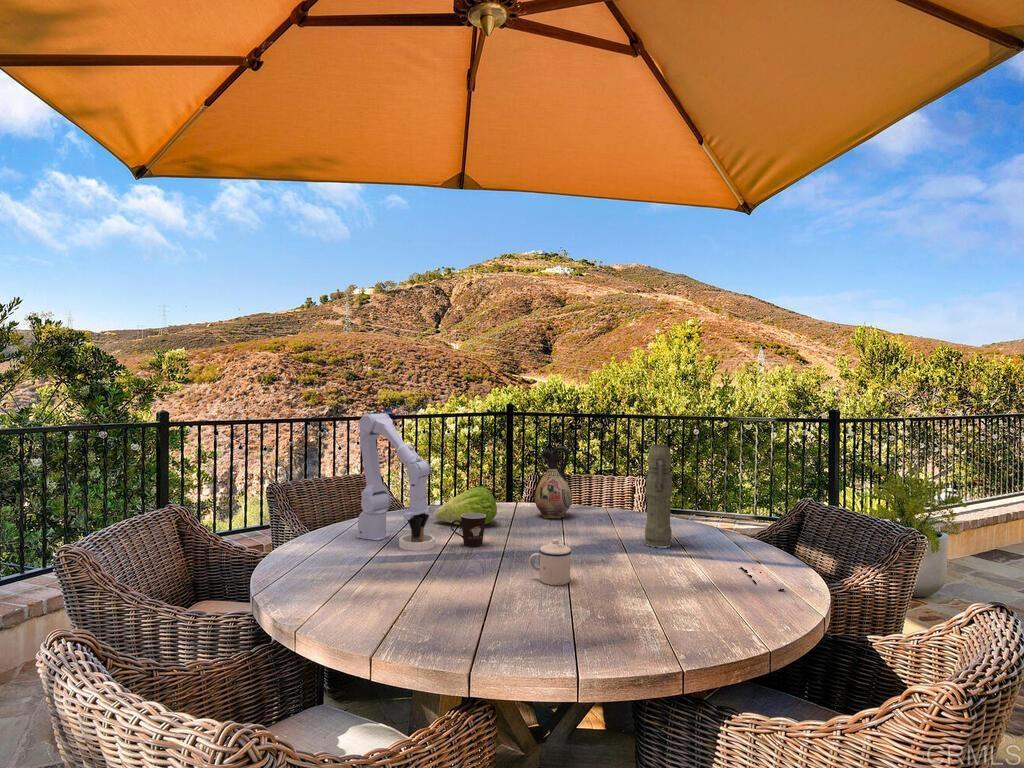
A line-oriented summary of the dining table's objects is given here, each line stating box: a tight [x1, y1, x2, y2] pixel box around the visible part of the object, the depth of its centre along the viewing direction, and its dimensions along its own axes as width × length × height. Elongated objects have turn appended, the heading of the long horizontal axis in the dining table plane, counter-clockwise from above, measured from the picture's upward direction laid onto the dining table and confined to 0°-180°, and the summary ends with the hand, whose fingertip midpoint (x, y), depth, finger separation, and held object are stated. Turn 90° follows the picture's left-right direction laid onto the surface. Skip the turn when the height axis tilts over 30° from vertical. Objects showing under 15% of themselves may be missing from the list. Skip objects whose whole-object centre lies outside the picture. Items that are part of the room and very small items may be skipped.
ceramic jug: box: [534, 445, 573, 519], centre depth 247 cm, size 17×15×30 cm
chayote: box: [434, 486, 498, 526], centre depth 233 cm, size 15×24×16 cm
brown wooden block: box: [410, 526, 425, 542], centre depth 200 cm, size 4×1×6 cm, turn 68°
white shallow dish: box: [398, 533, 436, 552], centre depth 200 cm, size 12×12×2 cm
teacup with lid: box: [528, 538, 572, 586], centre depth 168 cm, size 12×9×12 cm
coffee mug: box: [450, 513, 486, 548], centre depth 203 cm, size 12×9×10 cm
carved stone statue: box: [644, 444, 673, 546], centre depth 206 cm, size 9×12×35 cm
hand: (417, 536), depth 200 cm, fingers closed on brown wooden block, 1 cm apart
